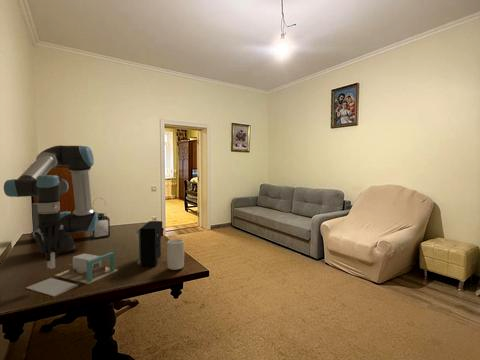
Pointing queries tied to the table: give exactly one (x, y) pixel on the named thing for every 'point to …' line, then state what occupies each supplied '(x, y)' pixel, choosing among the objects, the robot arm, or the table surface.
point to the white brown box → (84, 262)
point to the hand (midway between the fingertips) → (51, 267)
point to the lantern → (101, 226)
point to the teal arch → (90, 262)
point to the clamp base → (85, 274)
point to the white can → (175, 254)
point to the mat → (52, 287)
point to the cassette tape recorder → (36, 218)
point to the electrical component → (150, 243)
